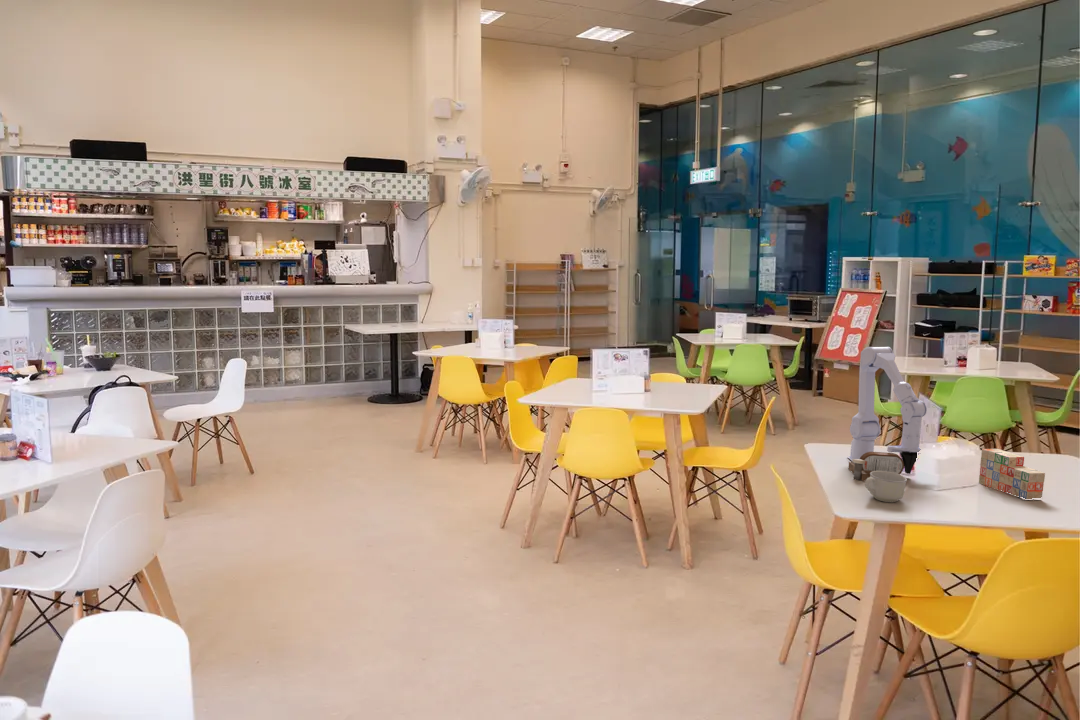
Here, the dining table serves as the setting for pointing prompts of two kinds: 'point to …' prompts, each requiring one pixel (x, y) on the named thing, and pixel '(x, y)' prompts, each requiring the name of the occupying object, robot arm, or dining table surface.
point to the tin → (882, 462)
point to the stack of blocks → (1010, 474)
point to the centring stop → (859, 470)
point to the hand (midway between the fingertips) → (907, 473)
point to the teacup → (886, 485)
